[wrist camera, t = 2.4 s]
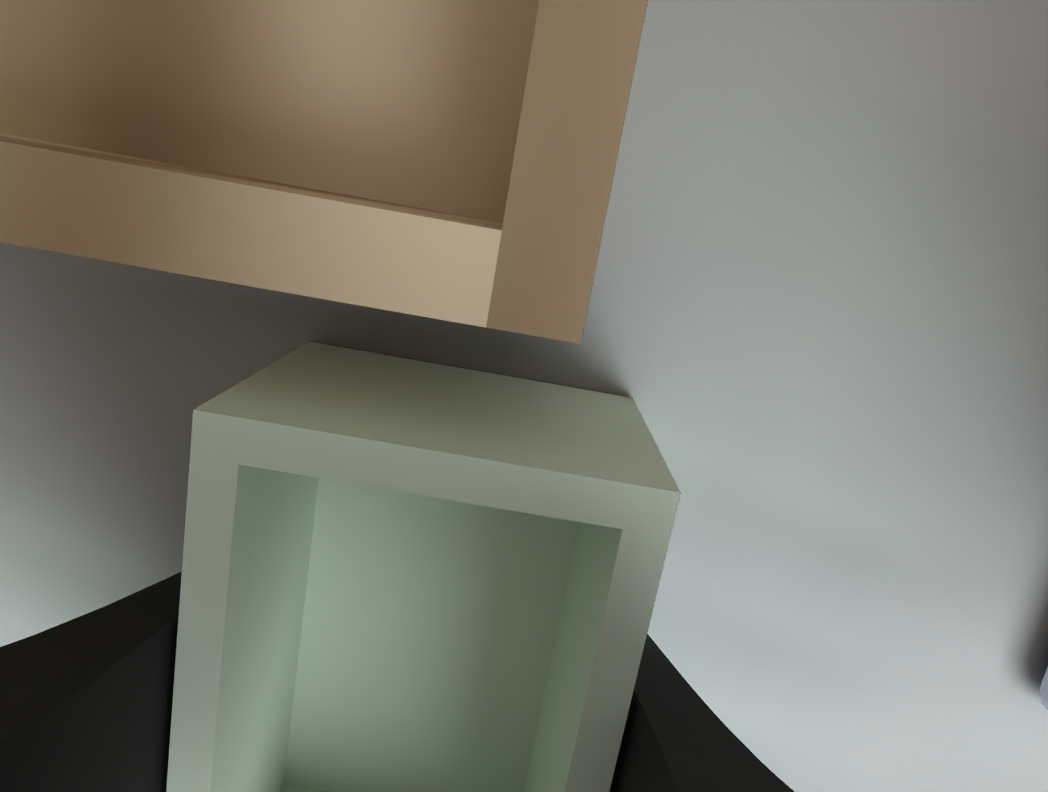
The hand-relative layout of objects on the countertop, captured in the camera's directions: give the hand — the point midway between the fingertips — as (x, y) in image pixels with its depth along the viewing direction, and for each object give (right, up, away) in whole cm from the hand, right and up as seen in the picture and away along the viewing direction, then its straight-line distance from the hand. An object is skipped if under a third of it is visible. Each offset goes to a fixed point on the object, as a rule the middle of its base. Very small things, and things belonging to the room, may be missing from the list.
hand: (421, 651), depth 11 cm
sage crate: (0, 0, +1) cm, 1 cm away
